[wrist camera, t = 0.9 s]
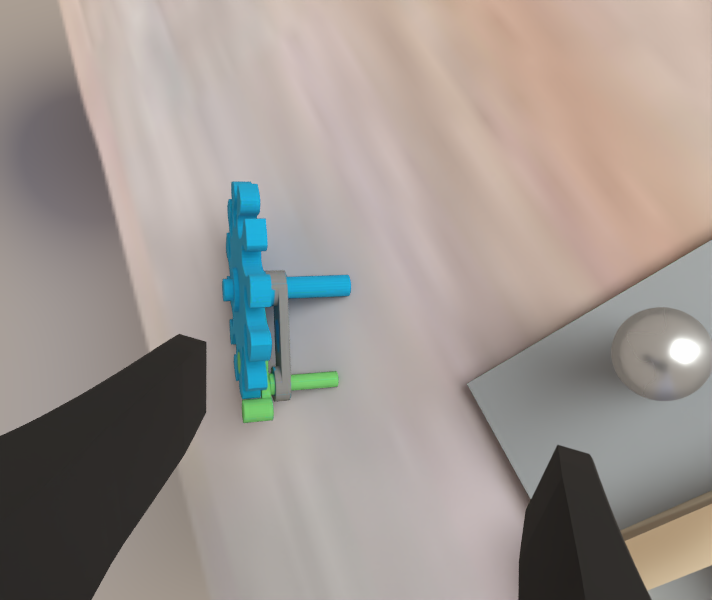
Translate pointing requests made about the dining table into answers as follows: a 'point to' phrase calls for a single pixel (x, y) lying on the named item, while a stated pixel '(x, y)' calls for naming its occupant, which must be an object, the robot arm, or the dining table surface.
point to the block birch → (672, 542)
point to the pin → (662, 354)
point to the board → (612, 410)
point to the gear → (248, 301)
